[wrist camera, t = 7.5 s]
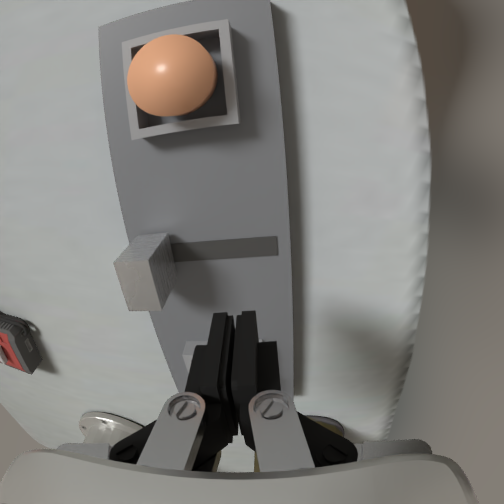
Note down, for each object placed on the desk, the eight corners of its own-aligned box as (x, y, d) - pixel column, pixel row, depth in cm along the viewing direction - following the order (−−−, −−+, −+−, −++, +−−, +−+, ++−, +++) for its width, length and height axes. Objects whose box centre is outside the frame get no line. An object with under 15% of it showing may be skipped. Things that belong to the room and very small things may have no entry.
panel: (292, 388, 26) (294, 414, 23) (185, 390, 26) (180, 414, 24) (268, 0, 13) (269, -20, 10) (109, 31, 14) (86, 21, 11)
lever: (168, 232, 17) (148, 260, 14) (177, 276, 19) (162, 310, 15) (137, 235, 18) (113, 262, 14) (148, 278, 19) (129, 310, 16)
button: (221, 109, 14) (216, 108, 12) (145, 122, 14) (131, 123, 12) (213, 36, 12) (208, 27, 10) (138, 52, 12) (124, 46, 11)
